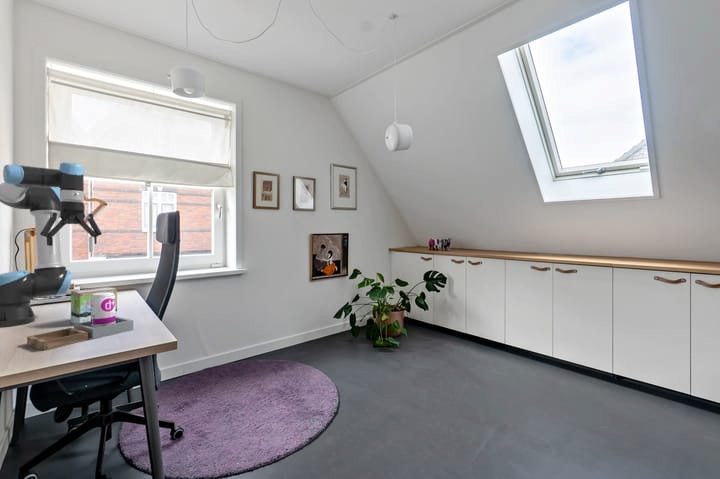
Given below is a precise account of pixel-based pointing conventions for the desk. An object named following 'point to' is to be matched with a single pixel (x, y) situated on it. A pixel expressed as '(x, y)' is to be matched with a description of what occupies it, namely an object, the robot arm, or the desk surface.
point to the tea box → (86, 303)
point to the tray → (105, 328)
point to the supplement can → (102, 309)
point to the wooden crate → (57, 338)
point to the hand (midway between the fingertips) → (73, 253)
